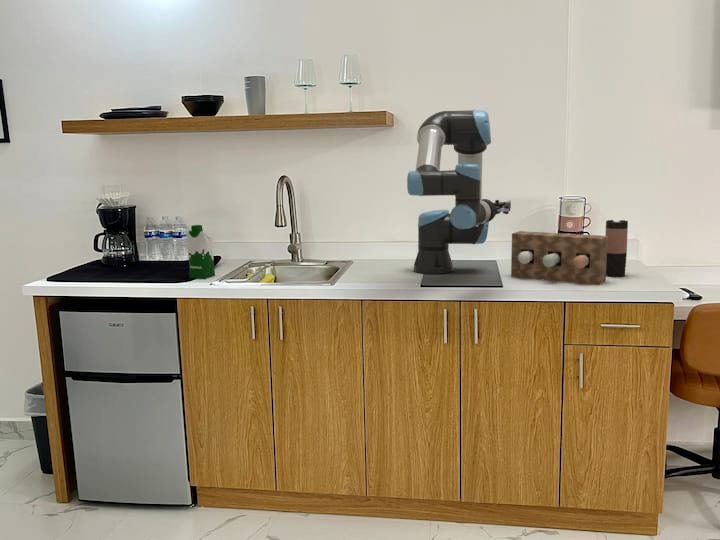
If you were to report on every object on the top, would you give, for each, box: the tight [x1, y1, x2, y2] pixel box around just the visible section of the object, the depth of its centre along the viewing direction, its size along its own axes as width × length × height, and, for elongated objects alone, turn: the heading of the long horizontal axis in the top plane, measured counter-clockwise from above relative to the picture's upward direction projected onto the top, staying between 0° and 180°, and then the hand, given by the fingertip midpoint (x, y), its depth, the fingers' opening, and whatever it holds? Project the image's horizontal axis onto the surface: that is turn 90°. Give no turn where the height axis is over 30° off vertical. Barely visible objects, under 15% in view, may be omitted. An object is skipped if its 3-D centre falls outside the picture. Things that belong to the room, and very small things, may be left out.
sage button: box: [543, 253, 561, 267], centre depth 259 cm, size 4×7×4 cm, turn 147°
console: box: [510, 230, 608, 286], centre depth 264 cm, size 32×8×16 cm, turn 57°
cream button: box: [518, 250, 534, 264], centre depth 267 cm, size 4×7×4 cm, turn 147°
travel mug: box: [604, 219, 629, 278], centre depth 269 cm, size 8×8×20 cm
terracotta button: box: [574, 254, 590, 268], centre depth 256 cm, size 4×7×4 cm, turn 147°
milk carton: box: [185, 224, 216, 280], centre depth 281 cm, size 9×9×20 cm
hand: (508, 203), depth 253 cm, fingers closed
